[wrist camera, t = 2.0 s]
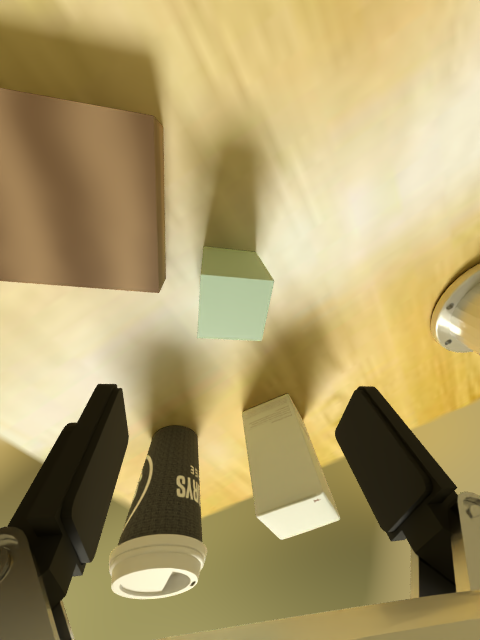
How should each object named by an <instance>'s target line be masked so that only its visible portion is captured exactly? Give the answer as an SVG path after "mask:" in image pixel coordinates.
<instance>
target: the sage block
mask: <svg viewBox="0 0 480 640" xmlns="http://www.w3.org/2000/svg"><path fill="white" fill-rule="evenodd" d="M273 284H274V280H273V278H272V277H271V275H270V274H269V272H268V271H267V269H266V267H265V266H264V264H263V263H262V261H261V259H260V258H259V256H258V255H257V253H256V252H253V251H243V250H234V249H224V248H215V247H205V246H204V247H203V257H202V267H201V278H200V296H199V315H198V333H197V338H209V339H229V340H250V341H262V337H263V332H264V328H265V323H266V318H267V313H268V308H269V303H270V298H271V294H272V289H273Z"/></svg>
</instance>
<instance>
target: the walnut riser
mask: <svg viewBox="0 0 480 640" xmlns="http://www.w3.org/2000/svg"><path fill="white" fill-rule="evenodd" d="M165 279H166V268H165V208H164V147H163V126H162V125H161V124H160V123H159V121H158V120H157V119H156V118H155V117H154V116H152V115H146V114H141V113H135V112H130V111H124V110H119V109H113V108H108V107H102V106H97V105H91V104H86V103H80V102H75V101H69V100H64V99H58V98H53V97H47V96H42V95H36V94H31V93H25V92H20V91H14V90H9V89H3V88H0V281H9V282H22V283H35V284H48V285H61V286H75V287H88V288H101V289H114V290H127V291H140V292H154V293H159V292H160V290H161V288H162V285H163V283H164V281H165Z"/></svg>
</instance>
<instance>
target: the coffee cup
mask: <svg viewBox="0 0 480 640" xmlns="http://www.w3.org/2000/svg"><path fill="white" fill-rule="evenodd" d="M206 554H207V548H206V546H205V545H204V544H203V543H202V527H201V507H200V484H199V460H198V438H197V435H196V434H195V432H193V431H192V430H191V429H189V428H186V427H183V426H168V427H165V428H162V429H160V430H159V431H157V432H156V433H155V434H154V436H153V438H152V442H151V445H150V448H149V451H148V454H147V457H146V460H145V463H144V466H143V470H142V473H141V476H140V479H139V482H138V485H137V488H136V491H135V494H134V498H133V501H132V504H131V507H130V510H129V513H128V516H127V519H126V522H125V525H124V528H123V531H122V534H121V537H120V540H119V543H118V546H117V547H116V548H114V550H112V552H111V553H110V557H109V572H110V575H111V576H112V582H111V583H112V584H111V588H112V590H113V592H115V593H116V594H118V595H120V596H123V597H127V598H134V599H154V598H163V597H168V596H173V595H176V594H179V593H182V592H185V591H187V590H189V589H191V588H192V587H194V586H195V584H196V583H197V582H198V577H199V573H200V570H201V569H202V567H203V565H204V562H205V558H206Z"/></svg>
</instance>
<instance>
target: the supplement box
mask: <svg viewBox="0 0 480 640" xmlns="http://www.w3.org/2000/svg"><path fill="white" fill-rule="evenodd" d="M242 418H243V425H244V432H245V439H246V446H247V454H248V460H249V467H250V475H251V482H252V489H253V496H254V503H255V510H256V517H257V518H258V519H259V520H260V521H261V522H263V523H264V524H265V525H266V526H267V527H268V528H269V529H270V530H271V531H272V532H273V533H275V535H276V536H277V537H279V538H280V539H281V540H282V539H285V538H289V537H291V536H294V535H298V534H301V533H304V532H307V531H310V530H312V529H315V528H318V527H321V526H324V525H327V524H329V523H332V522H335V521H338V520H340V516H339V513H338V510H337V508H336V505H335V502H334V499H333V497H332V494H331V491H330V489H329V487H328V484H327V481H326V479H325V476H324V474H323V471H322V468H321V466H320V463H319V461H318V458H317V456H316V453H315V450H314V448H313V445H312V443H311V440H310V437H309V435H308V432H307V429H306V427H305V424H304V422H303V420H302V417H301V416H300V414H299V412H298V410H297V408H296V406H295V405H294V403H293V401H292V399H291V397H290V396H289V394H285V395H283V396H280V397H278V398H275V399H273V400H270V401H268V402H265V403H263V404H260V405H258V406H256V407H253V408H251V409H248V410H246V411H244V412H243V413H242Z"/></svg>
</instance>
